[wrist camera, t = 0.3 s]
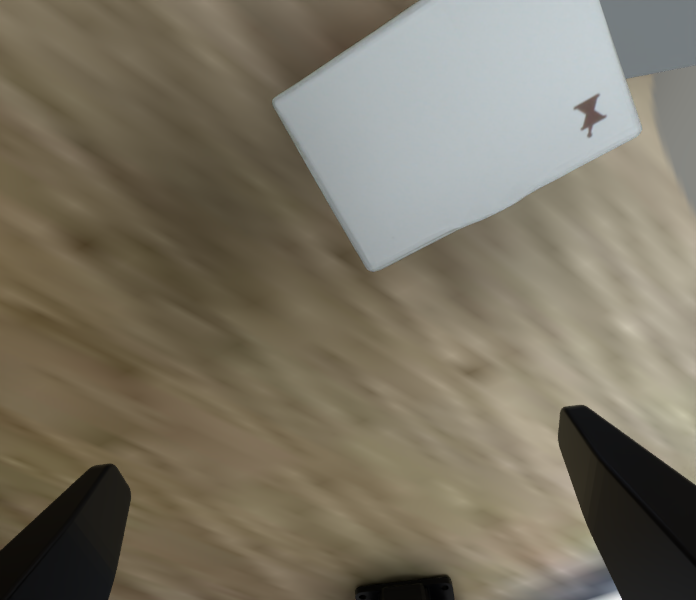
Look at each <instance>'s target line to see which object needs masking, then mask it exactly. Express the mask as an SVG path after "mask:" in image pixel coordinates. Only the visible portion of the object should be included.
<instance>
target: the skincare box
mask: <svg viewBox="0 0 696 600" xmlns="http://www.w3.org/2000/svg"><path fill="white" fill-rule="evenodd" d="M272 104H273V107H274V109H275V111H276V112H277V114H278V116H279V117H280V119H281V121H282V123H283V125H284V126H285V128H286V130H287V132H288V133H289V135H290V137H291V139H292V140H293V142H294V144H295V146H296V148H297V149H298V151H299V153H300V155H301V156H302V158H303V160H304V162H305V163H306V165H307V167H308V169H309V170H310V172H311V174H312V176H313V177H314V179H315V181H316V183H317V184H318V186H319V188H320V190H321V191H322V193H323V195H324V197H325V198H326V200H327V202H328V204H329V205H330V207H331V209H332V211H333V212H334V214H335V216H336V218H337V219H338V221H339V223H340V224H341V226H342V228H343V229H344V231H345V233H346V235H347V236H348V238H349V240H350V242H351V243H352V245H353V247H354V248H355V250H356V252H357V253H358V255H359V257H360V258H361V260H362V262H363V264H364V265H365V267H366V269H367V270H369V271H372V272H375V271H379V270H381V269H383V268H385V267H387V266H389V265H391V264H393V263H395V262H397V261H399V260H401V259H403V258H404V257H406V256H408V255H410V254H412V253H414V252H416V251H418V250H420V249H422V248H424V247H425V246H428V245H430V244H432V243H434V242H435V241H437V240H439V239H441V238H443V237H445V236H447V235H449V234H451V233H453V232H455V231H457V230H459V229H461V228H463V227H466V226H468V225H470V224H473V223H475V222H478V221H481V220H483V219H485V218H487V217H490V216H492V215H494V214H496V213H498V212H500V211H502V210H504V209H506V208H508V207H510V206H511V205H513V204H515V203H516V202H518V201H520V200H521V199H522V198H524V197H525V196H527V195H528V194H530V193H532V192H534V191H535V190H537V189H539V188H541V187H543V186H545V185H547V184H548V183H550V182H552V181H554V180H556V179H558V178H560V177H562V176H564V175H565V174H567V173H569V172H571V171H573V170H575V169H576V168H578V167H580V166H582V165H584V164H586V163H588V162H590V161H592V160H594V159H595V158H597V157H599V156H601V155H603V154H605V153H607V152H609V151H611V150H613V149H614V148H616V147H618V146H620V145H622V144H624V143H626V142H628V141H630V140H631V139H633V138H635V137H637V136H638V135H639V134H640V132H641V131H642V126H641V123H640V120H639V117H638V114H637V111H636V108H635V105H634V102H633V99H632V96H631V93H630V90H629V88H628V85H627V82H626V79H625V76H624V73H623V70H622V67H621V64H620V61H619V58H618V55H617V52H616V49H615V46H614V43H613V40H612V37H611V34H610V31H609V28H608V25H607V22H606V19H605V16H604V13H603V10H602V7H601V4H600V1H599V0H419V1H418V2H416V3H415V4H413V5H412V6H410V7H409V8H407V9H406V10H404V11H403V12H401V13H400V14H399V15H397V16H396V17H394V18H393V19H391V20H390V21H388V22H387V23H385V24H384V25H383V26H381V27H380V28H378V29H377V30H375V31H374V32H372V33H371V34H369V35H368V36H366V37H365V38H363V39H362V40H360V41H358V42H357V43H355V44H354V45H353V46H352V47H350V48H348V49H347V50H345V51H343V52H342V53H341V54H339V55H338V56H336V57H335V58H333V59H332V60H330V61H329V62H327V63H326V64H324V65H323V66H321V67H320V68H318V69H317V70H315V71H314V72H312V73H311V74H310V75H308V76H307V77H305V78H304V79H302V80H301V81H299V82H298V83H296V84H295V85H293V86H291V87H290V88H288V89H287V90H285V91H283V92H282V93H280V94H279V95H277V96H276V97H275V98H273V100H272Z"/></svg>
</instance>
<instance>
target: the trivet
mask: <svg viewBox="0 0 696 600" xmlns="http://www.w3.org/2000/svg"><path fill="white" fill-rule="evenodd" d="M599 1H600V4H601V7H602V10H603V13H604V16H605V19H606V22H607V25H608V28H609V31H610V34H611V37H612V40H613V43H614V46H615V49H616V52H617V55H618V58H619V61H620V64H621V67H622V70H623V73H624V76H625V79H627V78H632V77H637V76H642V75H647V74H653V73H658V72H663V71H668V70H673V69H678V68H684V67H689V66H694V65H696V0H599Z"/></svg>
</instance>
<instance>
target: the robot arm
mask: <svg viewBox="0 0 696 600" xmlns="http://www.w3.org/2000/svg"><path fill="white" fill-rule="evenodd" d="M558 442H559V447H560V450H561V453H562V456H563V459H564V462H565V464H566V467H567V470H568V473H569V476H570V479H571V482H572V484H573V487H574V490H575V493H576V496H577V499H578V502H579V504H580V507H581V510H582V513H583V516H584V518H585V521H586V524H587V526H588V528H589V530H590V533H591V535H592V537H593V539H594V541H595V543H596V546H597V548H598V550H599V552H600V554H601V556H602V558H603V560H604V562H605V564H606V566H607V569H608V571H609V573H610V575H611V577H612V579H613V581H614V583H615V585H616V587H617V589H618V592H619V594H620V596H621V598H622V600H696V485H695V484H693V483H692V482H691V481H689V480H688V479H686V478H685V477H684V476H682V475H681V474H680V473H678V472H677V471H675V470H674V469H673V468H671V467H670V466H668V465H667V464H666V463H664V462H663V461H662V460H660V459H659V458H657V457H656V456H655V455H653V454H652V453H650V452H649V451H648V450H646V449H645V448H644V447H642V446H641V445H639V444H638V443H637V442H635V441H634V440H633V439H631V438H630V437H628V436H627V435H626V434H624V433H623V432H621V431H620V430H619V429H617V428H616V427H615V426H613V425H612V424H610V423H609V422H608V421H606V420H605V419H603V418H602V417H601V416H599V415H598V414H597V413H595V412H594V411H592V410H591V409H590V408H588V407H587V406H584V405H575V406H567V407H563V408H562V409H561V412H560V420H559V430H558ZM130 501H131V491H130V488H129V486H128V484H127V483H126V481H125V480H124V478H123V476H122V475H121V473H120V472H119V470H118V468H117V467H116V466H115V465H113V464H103V465H95V466H93V467H91V468H90V469H88V470H87V471H86V472H85V473H84V474H83V475H82V476H81V477H80V478H79V479H77V480H76V481H75V482H74V483H73V484H72V485H71V486H70V487H69V488H68V489H67V490H66V491H64V492H63V493H62V494H61V495H60V496H59V497H58V498H57V499H56V500H55V501H54V502H53V503H51V504H50V505H49V506H48V507H47V508H46V509H45V510H44V511H43V512H42V513H41V514H40V515H38V516H37V517H36V518H35V519H34V520H33V521H32V522H31V523H30V524H29V525H28V526H27V527H25V528H24V529H23V530H22V531H21V532H20V533H19V534H18V535H17V536H16V537H15V538H14V539H12V540H11V541H10V542H9V543H8V544H7V545H6V546H5V547H4V548H3V549H2V550H1V551H0V600H108V598H109V595H110V592H111V588H112V585H113V581H114V578H115V574H116V570H117V566H118V561H119V556H120V551H121V546H122V541H123V536H124V531H125V526H126V521H127V516H128V511H129V506H130ZM355 598H356V600H454V593H453V586H452V581H451V579H449V578H447V577H440V578H432V579H423V580H414V581H406V582H397V583H388V584H380V585H371V586H362V587H358V588H357V589H356V590H355Z"/></svg>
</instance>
